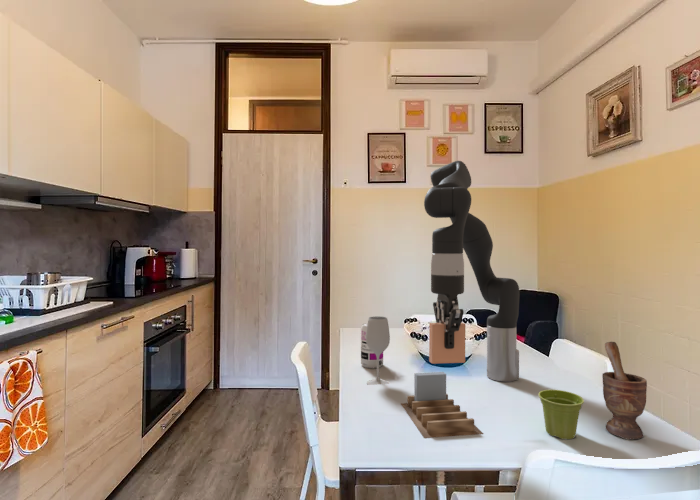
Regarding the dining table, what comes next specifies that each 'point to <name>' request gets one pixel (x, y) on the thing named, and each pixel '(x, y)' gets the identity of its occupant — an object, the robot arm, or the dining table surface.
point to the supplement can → (368, 352)
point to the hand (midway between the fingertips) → (447, 346)
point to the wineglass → (377, 341)
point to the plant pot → (561, 412)
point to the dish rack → (439, 418)
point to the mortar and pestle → (623, 397)
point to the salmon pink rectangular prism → (437, 345)
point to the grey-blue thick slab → (429, 386)
